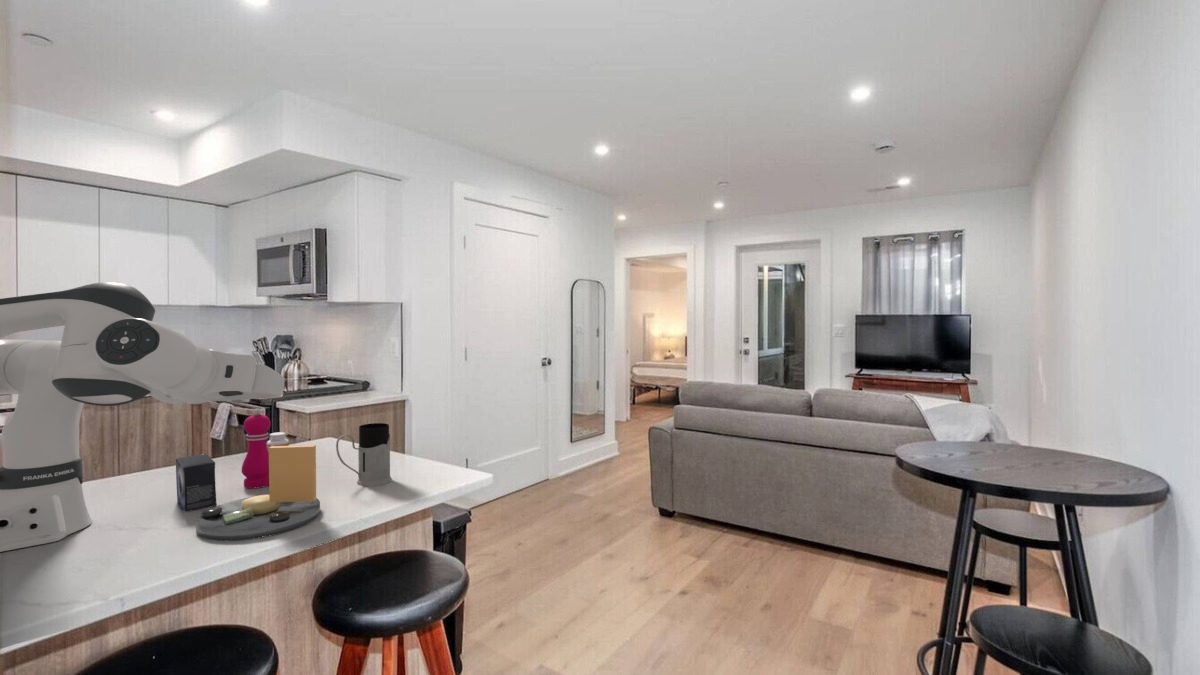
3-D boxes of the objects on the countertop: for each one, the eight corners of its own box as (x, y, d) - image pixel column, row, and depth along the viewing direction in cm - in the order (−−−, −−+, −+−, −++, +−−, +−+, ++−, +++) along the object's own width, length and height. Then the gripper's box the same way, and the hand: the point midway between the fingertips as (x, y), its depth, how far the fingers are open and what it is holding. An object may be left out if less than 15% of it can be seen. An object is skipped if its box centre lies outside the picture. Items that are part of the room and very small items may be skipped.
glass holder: (397, 481, 151) (397, 425, 150) (343, 493, 140) (343, 433, 140) (382, 474, 157) (382, 421, 156) (330, 485, 146) (329, 428, 146)
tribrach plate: (221, 550, 106) (221, 529, 106) (179, 522, 120) (179, 503, 120) (339, 516, 124) (339, 498, 124) (291, 495, 138) (291, 479, 138)
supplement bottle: (293, 466, 164) (293, 431, 164) (280, 471, 158) (280, 435, 158) (275, 465, 164) (275, 431, 164) (262, 471, 159) (261, 435, 159)
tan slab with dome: (235, 515, 118) (234, 451, 117) (250, 504, 125) (249, 444, 124) (309, 511, 120) (309, 449, 120) (320, 501, 127) (319, 442, 127)
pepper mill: (263, 489, 143) (262, 411, 142) (235, 488, 143) (233, 410, 142) (280, 480, 150) (279, 406, 149) (253, 480, 150) (252, 406, 149)
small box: (174, 501, 133) (173, 457, 133) (207, 495, 138) (206, 452, 137) (183, 512, 126) (182, 466, 125) (217, 505, 130) (216, 461, 130)
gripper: (124, 398, 90) (180, 418, 103) (256, 390, 91) (295, 411, 104) (133, 361, 92) (187, 385, 105) (262, 354, 94) (299, 379, 107)
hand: (242, 398), depth 105 cm, fingers closed
